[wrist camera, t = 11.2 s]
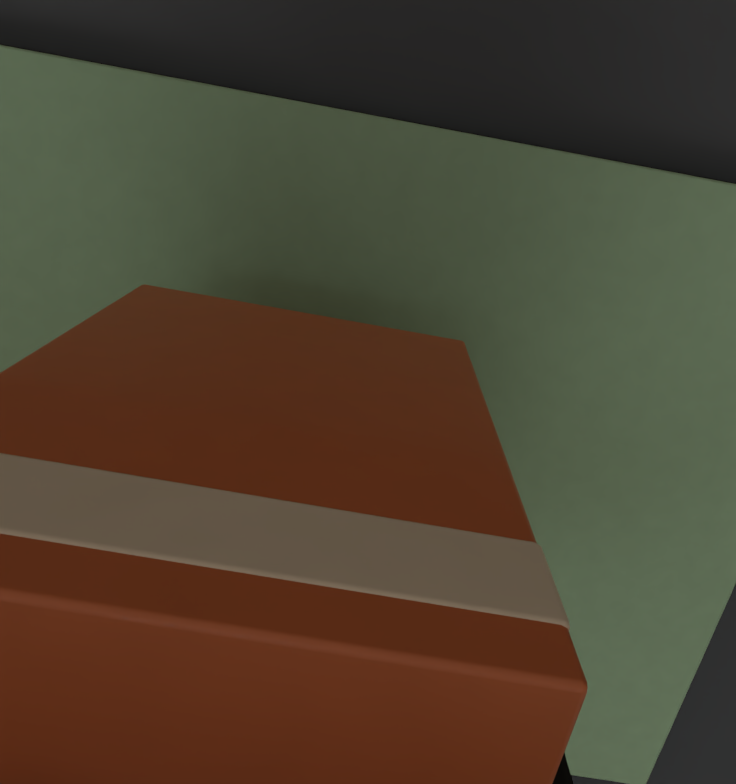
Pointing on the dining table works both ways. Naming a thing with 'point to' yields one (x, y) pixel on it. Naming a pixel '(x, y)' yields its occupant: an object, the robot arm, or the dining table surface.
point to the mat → (433, 318)
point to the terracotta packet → (268, 559)
